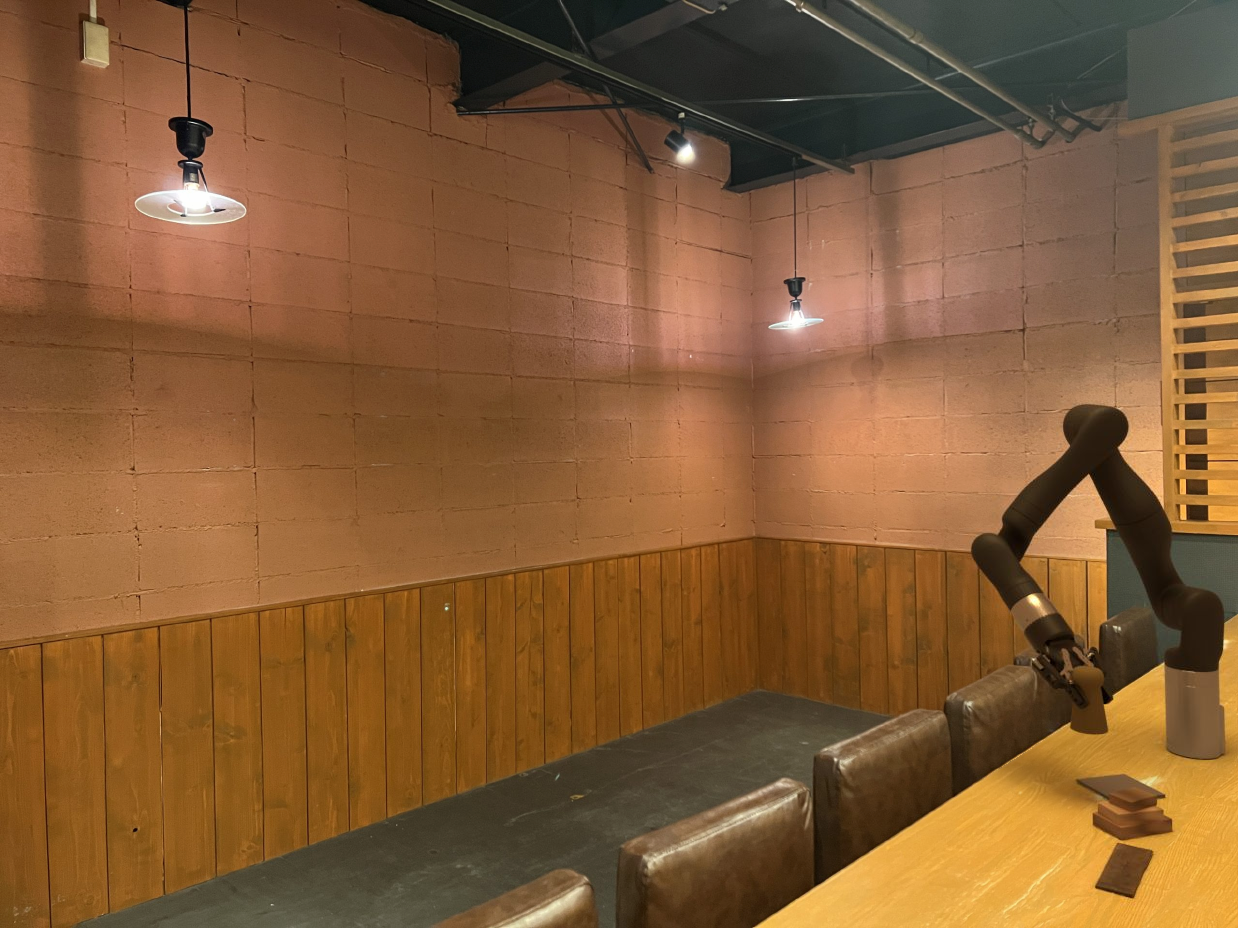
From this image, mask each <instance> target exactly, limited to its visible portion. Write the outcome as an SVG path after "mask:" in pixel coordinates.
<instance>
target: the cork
mask: <svg viewBox="0 0 1238 928" xmlns="http://www.w3.org/2000/svg"><path fill="white" fill-rule="evenodd" d="M1072 676H1073V678H1074V680H1075V685H1077V684H1078V686H1079V687H1080V688H1081V690H1082V691H1083V693H1084V694H1085V696H1086V697H1087V699H1088V700H1089V705H1088V706H1087V707H1086V708H1083V709H1080V708H1079V707H1078V706H1077V705H1075V703H1074V702H1073V701H1072V708H1071V716H1070V725H1069V728H1070V730H1072V731H1074V732H1075V733H1080V734H1085V735H1093V736H1094V735H1105V734H1107V733H1109V727H1108V722H1107V721H1108V720H1107V715H1106V709H1105V705H1104V703H1103V697H1102V691H1101V686H1102V685H1103V683H1105V678H1104V675H1103V672H1102V671H1101V670H1100V669H1099V668H1096V667H1091V666H1085V665H1084V666H1078V667H1075V668H1074V669H1073V672H1072Z"/></svg>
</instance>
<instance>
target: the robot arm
mask: <svg viewBox="0 0 1238 928" xmlns="http://www.w3.org/2000/svg"><path fill="white" fill-rule="evenodd" d="M1129 425H1130V424H1129V420H1128V417H1127V416H1126V414H1125V413H1124V412H1123V411H1122V410H1120V409H1119V408H1117V407H1113V406H1110V405H1103V404H1095V403H1093V404H1091V403H1084V404H1077V405H1075V406H1073V407H1071V408H1070V409H1069V410H1068V411H1067V412H1066V414H1065V416H1064V418H1063V422H1062V431H1063V435H1064V437H1065V439H1066V441H1067V443H1068V445H1069V447H1068V448H1067V450H1065V452H1064V453H1063V454H1062V455H1061V456H1060V457H1059V458H1058V459H1057V460H1056V461H1055V462H1054V463H1053V464H1052V465H1050V466H1049V467H1048V468H1047V469H1046V470H1044V471H1042V473H1040V474H1039V475H1038V476H1036V477H1035V478H1033V479H1032V480H1031V481H1030V482H1029V483H1028V484H1027V485H1026V486H1025V487H1024V488H1023V489H1022V490H1021V491H1020V492H1019V494H1017V496H1016V497H1015V498H1014V500H1013V501H1012V502H1011V503H1010V504H1009V506H1008V507H1007V508H1006V509H1005V511H1004V513H1003V514H1002V516H1001V523H1002V527H1001V529H1000V530H999V532H998V533H993V532H991V533H990V532H986V533H982V534H979V535H978V536H976V537H975V539H973V541H972V543H971V546H970V553H971V557H972V559H973V561H974V563H975V564H976V566H977V567H978V568H979V569H980V571H981V572H982V574H983V575H984V576H985V577H986V578H987V580H988V581H989V582H990V583H991V584H992V585H993V587H994V588H995V590H996V591H997V593H998V594H999V596H1000V598H1001V600H1002V601H1003V603H1004V604H1005V606H1006V607H1007V609H1008V610H1009V612H1010V614H1012V615H1011V616H1012V617H1013V619H1014V621H1015V623H1016V624H1017V626H1018V628H1019V629H1020V631H1021V632H1022V634H1023V636H1024V637H1025V638H1026V639H1027V641H1028V643H1029V644H1030V646H1031V648H1032V649H1033V650H1034V652H1035V653H1037V654H1038V655H1037V656H1036V658H1034V660H1033V661H1032V662H1031V666H1032V667H1033V668H1034V669H1035V670H1036V672H1038V673H1039V675H1041V677H1042V678H1043V679H1044V680H1045V681H1046V682H1047V684H1049V685H1050V687H1051V688H1052V689H1054V690H1058V689H1062V691H1064V692H1066V693H1067V695H1068V696H1069V697H1070V699H1071V701H1072V703H1073V702H1074V703H1075V705H1077V706H1078V707H1079V708H1080V709H1083V708H1086V707H1087V706H1088V705H1089V700H1088V699H1087V697H1086V696H1085V694H1084V693H1083V691H1082V690H1081V688H1080V687H1079V686H1078V684H1077V685H1075V680H1074V678H1073V676H1072V672H1073V669H1074V668H1075V667H1078V666H1091V667H1096V668H1098V669H1100V670H1101V671H1102V672H1103V675H1104V679H1105V677H1107V676H1108V675H1109V670H1108V669H1107V667H1106V665H1105V662H1104V661H1103V659H1102V657H1101V654H1100V652H1099V650H1098V648H1097V647H1096V646H1091V647H1090V648H1083V647H1082V646H1081V645H1080V644H1078V643H1077V642H1076V640H1075V639H1076V638H1075V632H1074V631H1073V629H1072V628H1071V627H1070V625H1069V624H1068V623H1067V621H1066V619H1065V618H1064V616H1063V615H1062V614H1061V612H1060V611H1059V610H1058V608H1057V607H1056V606H1055V604H1054V603H1053V601H1051V599H1050V598H1049V597H1048V596H1047V595H1046V594H1045V592H1044V591H1043V590H1042V588H1041V586H1039V584H1038V583H1037V581H1036V580H1035V579H1034V577H1032V575H1031V574H1030V573H1028V571H1026V569H1024V567H1023V566H1022V564H1021V563H1020V562H1022V560H1023V558H1024V556H1025V554H1026V552H1027V551H1028V549H1029V547H1030V545H1031V542H1032V541H1033V538H1034V537H1035V535H1036V533H1038V531H1039V530H1040V529H1041V528H1042V526H1044V524H1045V523H1046V521H1047V520H1049V518H1050V516H1051V515H1052V514H1053V513H1054V512H1055V510H1056V509H1057V508H1058V507H1059V506H1060V504H1061V503H1062V502H1064V500H1065V499H1066V497H1068V496H1069V494H1071V492H1072V491H1073V490H1074V489H1075V488H1076V487H1077V486H1078V485H1079V484H1080V483H1081V482H1082V481H1083V480H1084V479H1086V477H1087V476H1089V477H1090V479H1091V482H1092V483H1093V485H1094V488H1095V490H1096V491H1097V493H1098V496H1099V498H1100V500H1101V502H1102V503H1103V505H1104V507H1105V510H1106V511H1107V513H1108V515H1109V518H1110V521H1111V522H1112V524H1113V526H1114V528H1115V529H1116V531H1117V534H1118V535H1119V538H1120V540H1121V541H1122V543H1123V545H1124V546H1125V548H1126V551H1127V552H1128V554H1129V557H1130V559H1131V560H1132V563H1133V564H1134V566H1135V568H1136V570H1137V572H1138V574H1139V577H1140V579H1141V581H1142V585H1143V587H1144V589H1145V593H1146V596H1147V598H1148V601H1149V604H1150V606H1151V608H1152V611H1153V612H1154V615H1155V616H1156V618H1157V619H1158V622H1160V623H1161V624H1163V625H1164V626H1165V627H1168V628H1169V629H1172V630H1176V631H1179V632H1180V641H1179V644H1178V646H1176V647H1170V648H1167V649H1166V650H1165V651H1164V654H1163V659H1164V660H1163V663H1164V665H1163V666H1164V667H1163V668H1164V696H1165V697H1164V704H1165V706H1164V707H1165V710H1164V711H1165V739H1166V741H1165V743H1166V744H1165V745H1166V747H1165V748H1166V749H1167V750H1168V751H1169V752H1170V753H1173V754H1175V755H1178V756H1181V757H1187V758H1191V759H1199V760H1200V759H1202V760H1209V759H1210V760H1211V759H1216V758H1219V757H1221V756H1222V755H1225V754H1226V727H1225V726H1226V723H1225V720H1226V718H1225V716H1226V715H1225V707H1224V706H1223V705H1221V702H1220V701H1221V699H1220V660H1221V658H1222V656H1223V652H1224V644H1225V643H1224V642H1225V640H1224V639H1225V609H1224V605H1223V602H1222V599H1220V597H1219V596H1218V594H1216V593H1215V592H1213V591H1211V590H1208V589H1205V588H1204V589H1203V588H1199V587H1195V586H1190V585H1186V584H1185V582H1184V581H1183V579H1181V576H1180V575H1179V574H1178V572H1177V570H1176V568H1175V566H1174V564H1173V561H1172V556H1171V550H1172V542H1173V528H1172V523H1171V521H1170V519H1169V517H1168V515H1167V513H1166V511H1165V509H1164V507H1163V505H1162V504H1161V503H1162V502H1160V499H1159V498H1158V496H1157V495H1156V494H1155V492H1154V491H1153V490H1152V489H1151V488H1150V486H1149V485H1148V484H1147V483H1146V482H1145V481H1144V480H1143V479H1142V478H1141V477H1140V476H1139V474H1137V472H1136V471H1134V469H1133V468H1132V467H1131V466H1130V465H1129V464H1128V462H1127V461H1126V460H1125V458H1124V457H1123V455H1122V453H1121V451H1120V448H1119V447H1120V446H1121V445H1122V444H1123V443H1124V442H1125V440H1126V438H1127V436H1128V433H1129V427H1130V426H1129ZM1052 676H1053V677H1052ZM1101 691H1102V697H1103V703H1104V706H1105V705H1108V704H1110V703H1112V701H1114V695H1113V693H1112V691H1111V690H1110V689H1109V687H1108V685H1107V684H1106V683H1105V682H1104V683H1103V685H1102V686H1101Z"/></svg>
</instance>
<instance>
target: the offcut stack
mask: <svg viewBox="0 0 1238 928" xmlns="http://www.w3.org/2000/svg"><path fill="white" fill-rule="evenodd" d="M1164 812H1165V811H1164V809H1163V808H1161V807H1159V806H1158V799H1157V795H1154V794H1152V793H1149V792H1146V791H1144V790H1141V789H1139V788H1136V787H1133V788H1129V789H1125V790H1121V791H1117V792H1113V793H1110V794H1109V800H1107V801H1106V800H1105V801H1099V802H1097V811H1096V812H1092V813H1091V814H1092V825H1093V826H1094V827H1097V828H1098V829H1099V830H1101V831H1103V832H1106V833H1107V834H1108V835H1109V834H1110V836H1113V837H1115V838H1117V839H1119V840H1121V841H1124V840H1125V841H1126V840H1130V839H1135V838H1142V837H1146V836H1152V835H1159V834H1163V833H1164V834H1165V833H1170V832H1173V818H1172V817H1169V816H1166V815H1165V814H1164Z"/></svg>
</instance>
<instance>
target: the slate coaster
mask: <svg viewBox="0 0 1238 928" xmlns="http://www.w3.org/2000/svg"><path fill="white" fill-rule="evenodd" d="M1075 781H1076V783H1077V784H1079V785H1081V786H1082V787H1084V788H1086V789H1088V790H1090V791H1091V792H1093V793H1095V794H1097V795H1099V796H1100V797H1103V798H1104V799H1106V800H1107V801H1109V794H1110V793H1113V792H1117V791H1121V790H1125V789H1129V788H1133V787H1136V788H1139V789H1141V790H1144V791H1146V792H1149V793H1152V794H1154V795H1157V800H1159V799H1166V793H1164V792H1161V791H1159V790H1158V789H1155V788H1153V787H1152V786H1149V785H1148V784H1145V782H1142V781H1139V780H1138V779H1135V778H1133V777H1131V776H1130V775H1128V774H1127V773H1126V774H1125V773H1121V774H1120V773H1118V774H1112V775H1109V774H1108V775H1103V776H1102V775H1101V776H1092V777H1084V778H1076V780H1075Z"/></svg>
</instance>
